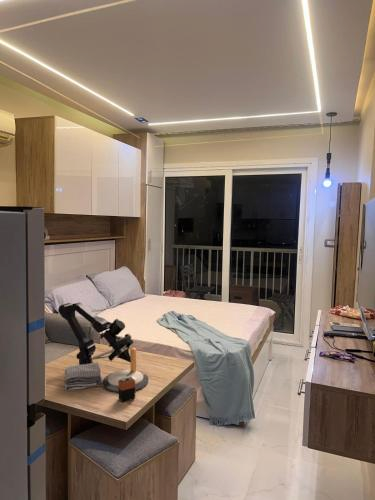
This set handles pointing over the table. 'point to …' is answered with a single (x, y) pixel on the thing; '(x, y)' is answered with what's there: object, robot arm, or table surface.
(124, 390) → the battery
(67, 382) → the towel
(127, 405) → the table surface
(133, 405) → the table surface
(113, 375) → the dial
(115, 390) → the dial plate
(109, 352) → the caliper
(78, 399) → the table surface
